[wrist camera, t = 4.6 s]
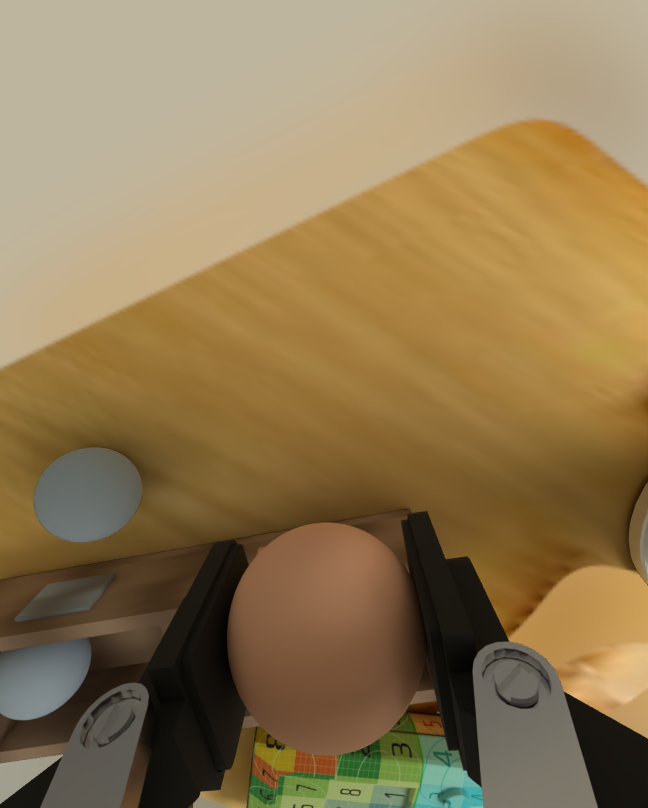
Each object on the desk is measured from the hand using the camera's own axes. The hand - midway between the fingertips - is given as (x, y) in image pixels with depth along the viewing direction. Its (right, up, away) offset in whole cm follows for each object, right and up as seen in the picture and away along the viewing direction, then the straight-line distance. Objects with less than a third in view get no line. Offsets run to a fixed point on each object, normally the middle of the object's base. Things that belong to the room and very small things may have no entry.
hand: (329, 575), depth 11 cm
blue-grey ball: (-16, -9, +13) cm, 22 cm away
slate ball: (-12, +1, +11) cm, 16 cm away
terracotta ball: (0, 0, +1) cm, 1 cm away
